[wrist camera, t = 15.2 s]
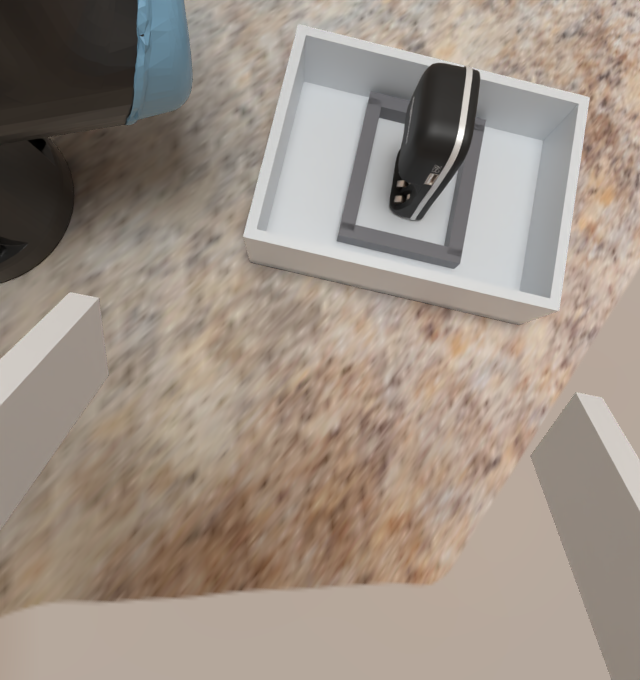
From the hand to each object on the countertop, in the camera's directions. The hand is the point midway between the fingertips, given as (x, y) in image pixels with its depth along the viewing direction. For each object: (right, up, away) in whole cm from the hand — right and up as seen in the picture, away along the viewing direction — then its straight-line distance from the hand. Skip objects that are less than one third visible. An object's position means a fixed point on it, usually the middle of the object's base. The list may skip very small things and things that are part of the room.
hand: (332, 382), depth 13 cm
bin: (+7, +14, +28) cm, 32 cm away
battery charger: (+7, +15, +28) cm, 32 cm away
